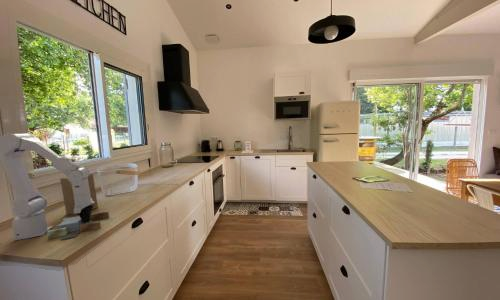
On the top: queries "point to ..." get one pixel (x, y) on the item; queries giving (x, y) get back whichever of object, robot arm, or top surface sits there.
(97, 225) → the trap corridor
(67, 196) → the wooden block
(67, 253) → the top surface
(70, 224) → the slate block
